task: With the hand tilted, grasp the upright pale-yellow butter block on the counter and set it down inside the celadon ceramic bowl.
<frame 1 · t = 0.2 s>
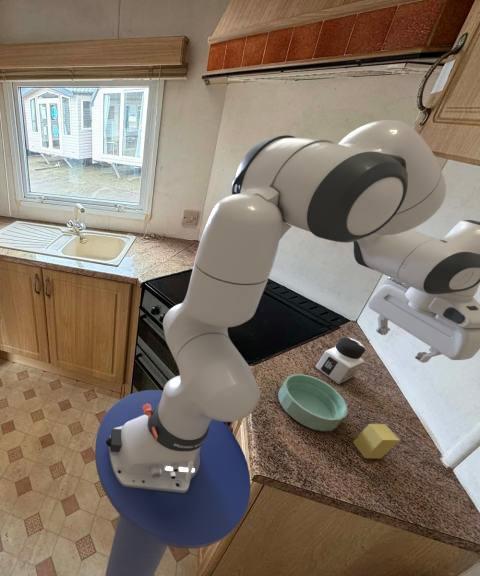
hand: (399, 346, 72), 27 cm above the counter, tool pointing down, fingers open, 8 cm apart
bowl: (306, 407, 88), on the counter
container: (333, 372, 101), on the counter
butter: (366, 450, 78), on the counter
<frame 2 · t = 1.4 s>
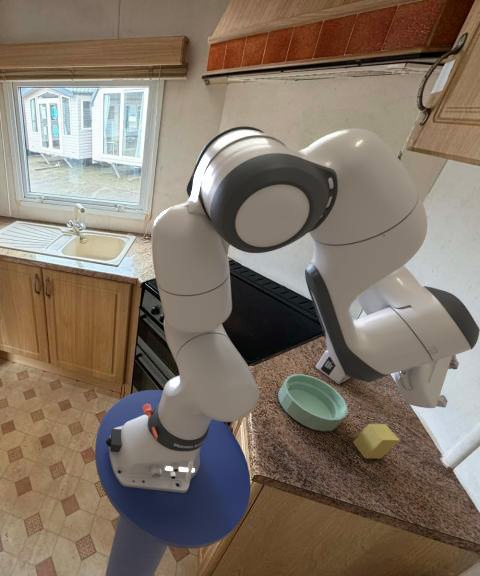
hand: (447, 384, 60), 29 cm above the counter, tool tilted 45°, fingers open, 8 cm apart
nothing on the counter moved.
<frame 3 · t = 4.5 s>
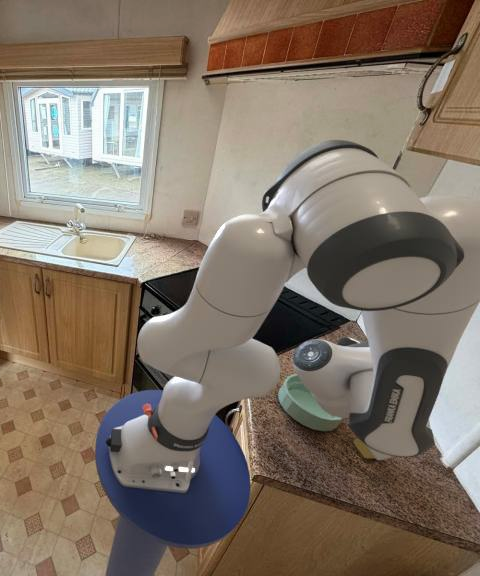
hand: (359, 423, 70), 12 cm above the counter, tool tilted 45°, fingers open, 8 cm apart
nothing on the counter moved.
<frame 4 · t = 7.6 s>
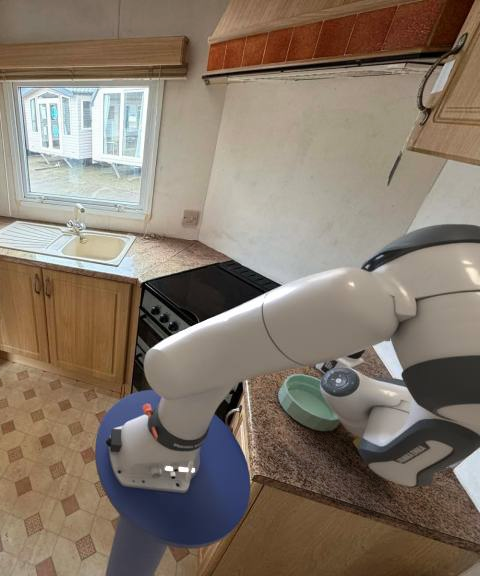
hand: (378, 440, 76), 4 cm above the counter, tool tilted 45°, fingers closed on butter, 4 cm apart
butter: (366, 450, 78), on the counter, touching gripper
everything else where it was.
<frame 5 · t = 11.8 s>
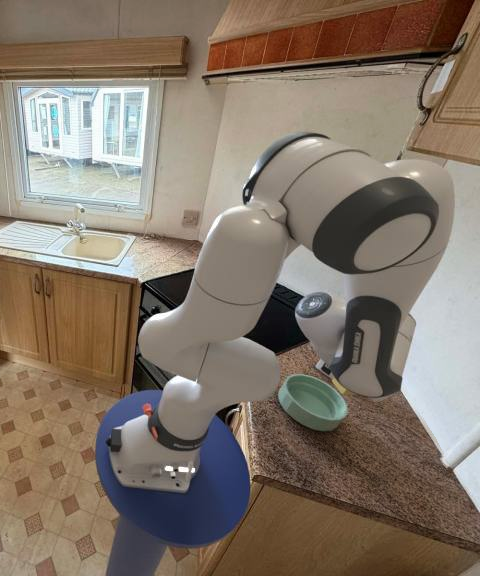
hand: (355, 376, 76), 17 cm above the counter, tool tilted 45°, fingers closed on butter, 4 cm apart
butter: (344, 388, 78), point 13 cm above the counter, touching gripper
everything else where it was.
when the fingers open (5 cm above the counter, at t = 16.3 s): butter stays where it is, resting on bowl.
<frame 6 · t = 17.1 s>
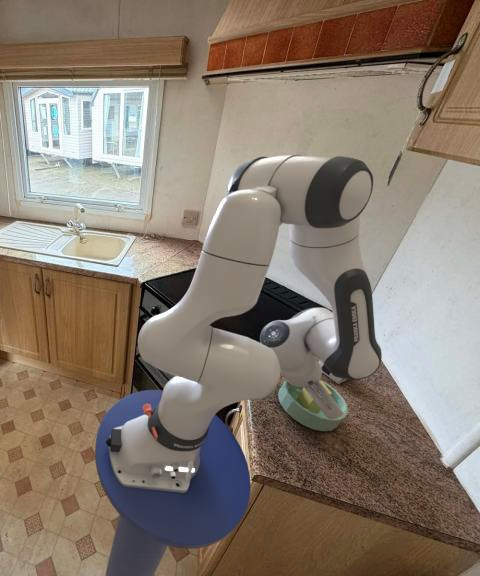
hand: (318, 394, 84), 6 cm above the counter, tool tilted 45°, fingers open, 8 cm apart
butter: (307, 406, 88), point 1 cm above the counter, touching bowl
everything else where it was.
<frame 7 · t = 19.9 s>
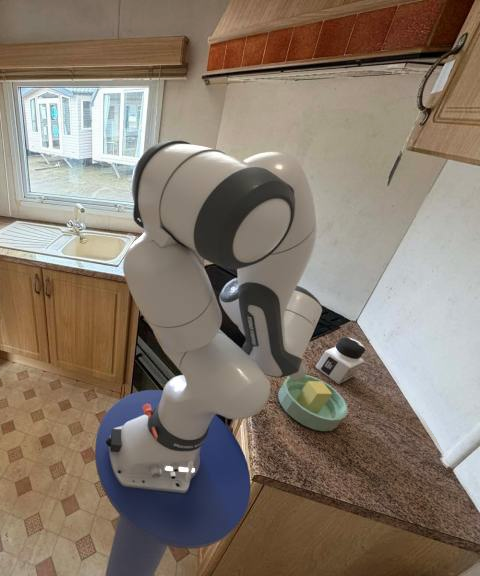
hand: (284, 356, 80), 18 cm above the counter, tool tilted 45°, fingers open, 8 cm apart
nothing on the counter moved.
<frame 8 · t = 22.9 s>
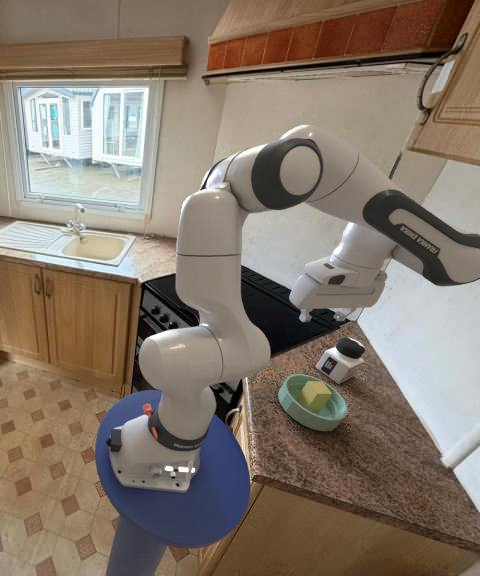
hand: (321, 320, 75), 29 cm above the counter, tool pointing down, fingers open, 8 cm apart
nothing on the counter moved.
at the end: butter inside the target area in the bowl (0.1 cm from its centre), point 0.6 cm above the bowl's base; the gripper is holding nothing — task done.
